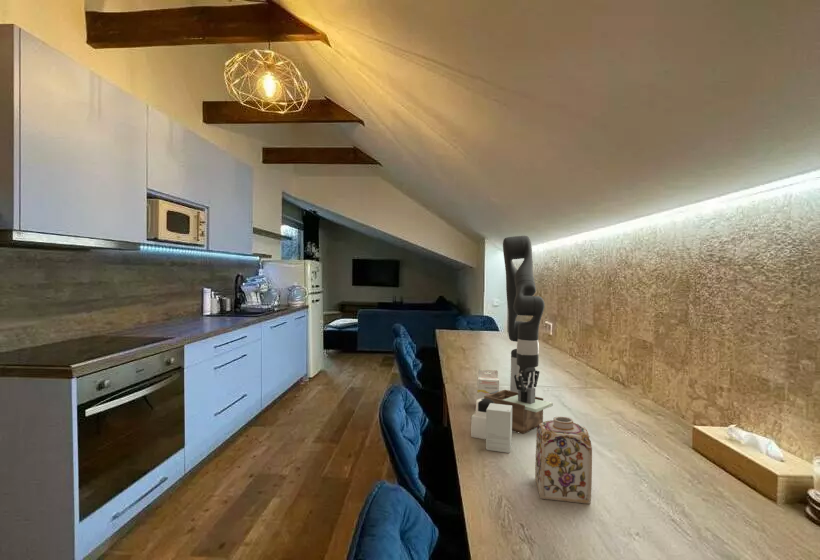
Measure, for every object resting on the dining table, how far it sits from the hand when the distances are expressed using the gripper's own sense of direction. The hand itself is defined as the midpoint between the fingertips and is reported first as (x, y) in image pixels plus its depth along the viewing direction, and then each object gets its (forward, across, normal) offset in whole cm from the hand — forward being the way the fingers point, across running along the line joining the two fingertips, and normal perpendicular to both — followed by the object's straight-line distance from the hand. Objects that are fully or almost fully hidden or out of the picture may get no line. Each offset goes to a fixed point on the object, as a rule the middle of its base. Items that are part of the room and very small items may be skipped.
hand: (526, 400), depth 154 cm
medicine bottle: (+10, +18, -5) cm, 21 cm away
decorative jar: (+10, +34, +30) cm, 47 cm away
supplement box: (+10, +23, +4) cm, 25 cm away
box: (+9, 0, -5) cm, 11 cm away
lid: (+1, 0, 0) cm, 1 cm away
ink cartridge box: (+10, -10, -23) cm, 27 cm away
